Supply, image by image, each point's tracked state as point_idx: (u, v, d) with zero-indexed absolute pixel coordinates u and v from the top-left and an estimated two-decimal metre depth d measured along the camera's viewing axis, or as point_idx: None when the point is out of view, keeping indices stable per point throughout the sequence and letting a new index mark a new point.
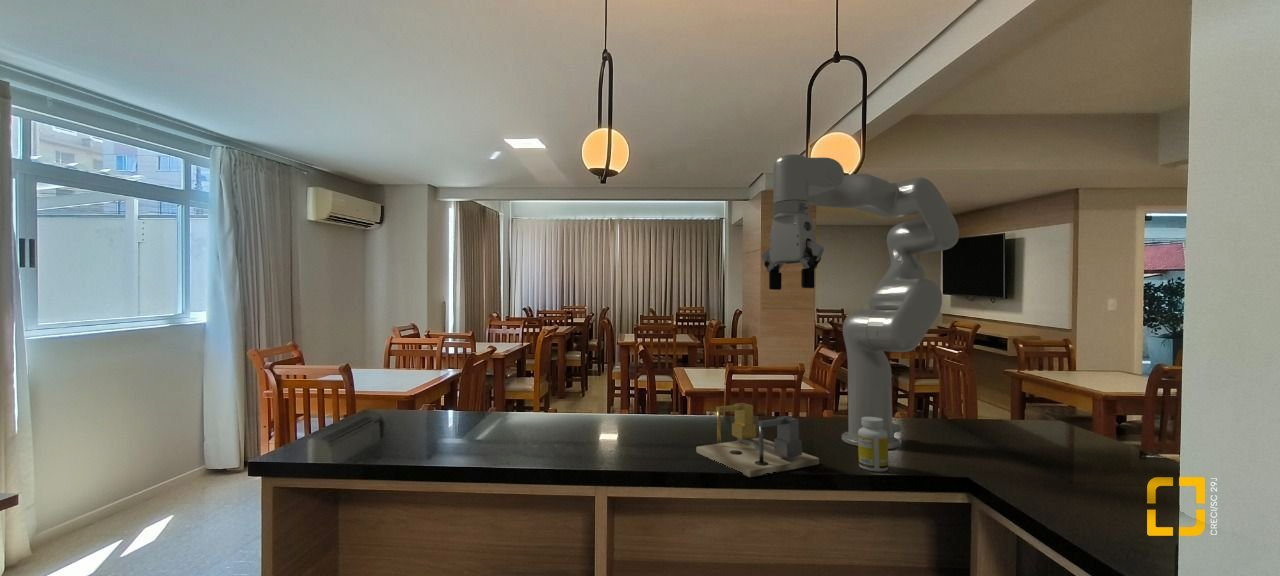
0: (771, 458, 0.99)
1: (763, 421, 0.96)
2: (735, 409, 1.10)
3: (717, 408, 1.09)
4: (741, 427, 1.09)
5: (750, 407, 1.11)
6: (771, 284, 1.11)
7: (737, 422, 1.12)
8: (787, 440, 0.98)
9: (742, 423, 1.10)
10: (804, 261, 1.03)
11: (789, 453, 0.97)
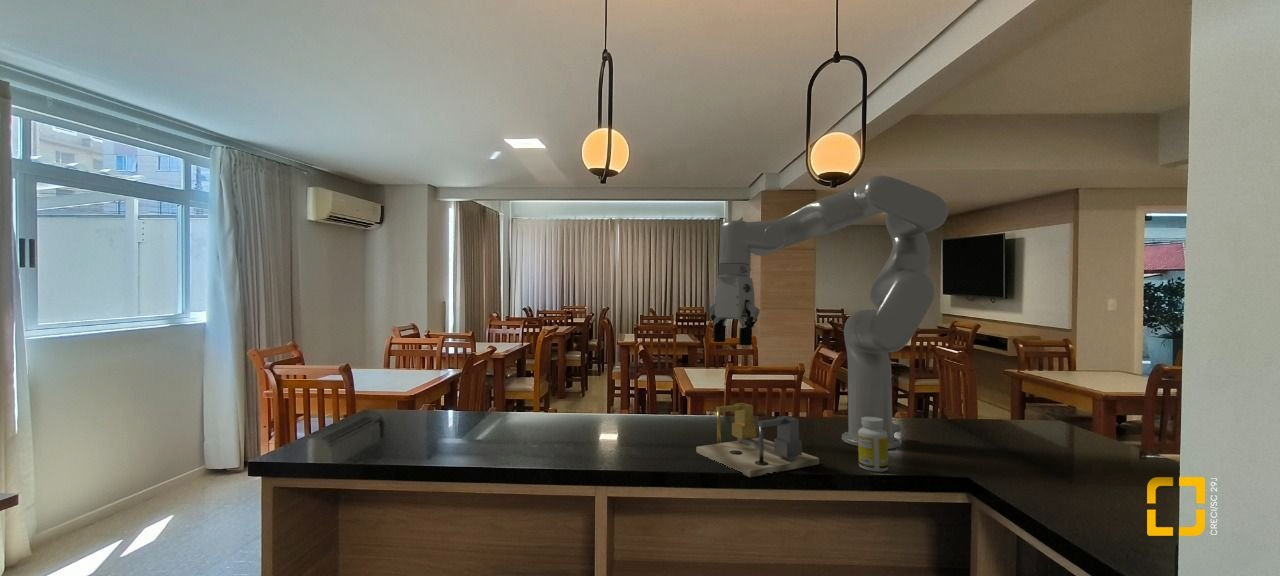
0: (771, 458, 0.99)
1: (763, 421, 0.96)
2: (735, 409, 1.10)
3: (717, 408, 1.09)
4: (741, 427, 1.09)
5: (750, 407, 1.11)
6: (715, 337, 1.20)
7: (737, 422, 1.12)
8: (787, 440, 0.98)
9: (742, 423, 1.10)
10: (742, 321, 1.12)
11: (789, 453, 0.97)
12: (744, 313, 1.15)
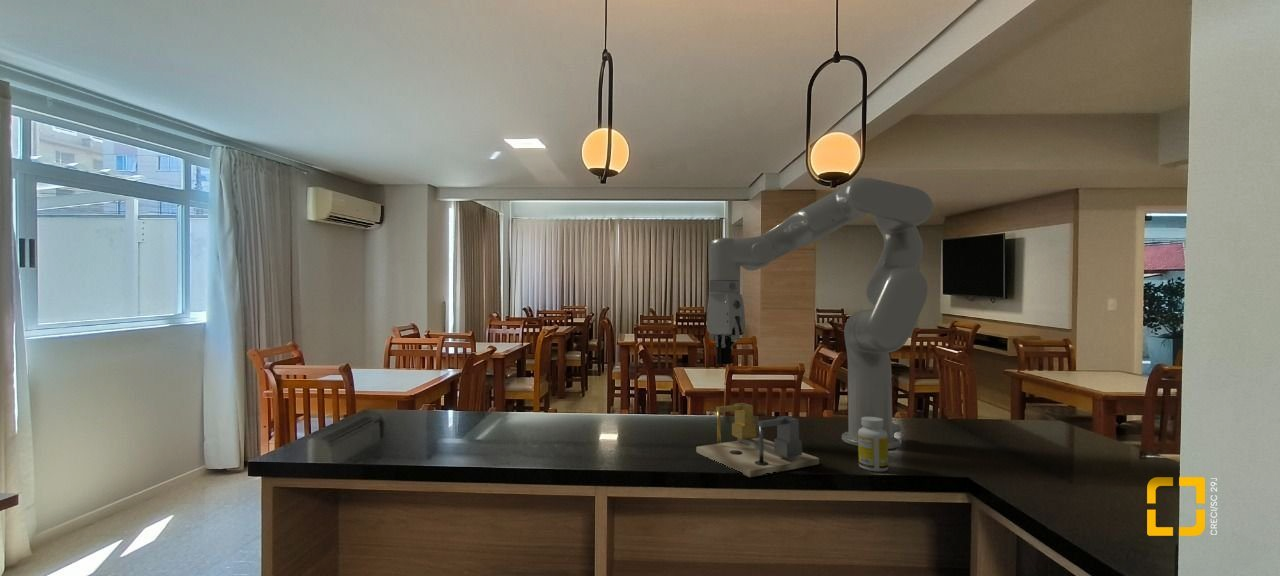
0: (771, 458, 0.99)
1: (763, 421, 0.96)
2: (735, 409, 1.10)
3: (717, 408, 1.09)
4: (741, 427, 1.09)
5: (750, 407, 1.11)
6: (718, 359, 1.18)
7: (737, 422, 1.12)
8: (787, 440, 0.98)
9: (742, 423, 1.10)
10: (723, 341, 1.17)
11: (789, 453, 0.97)
12: None
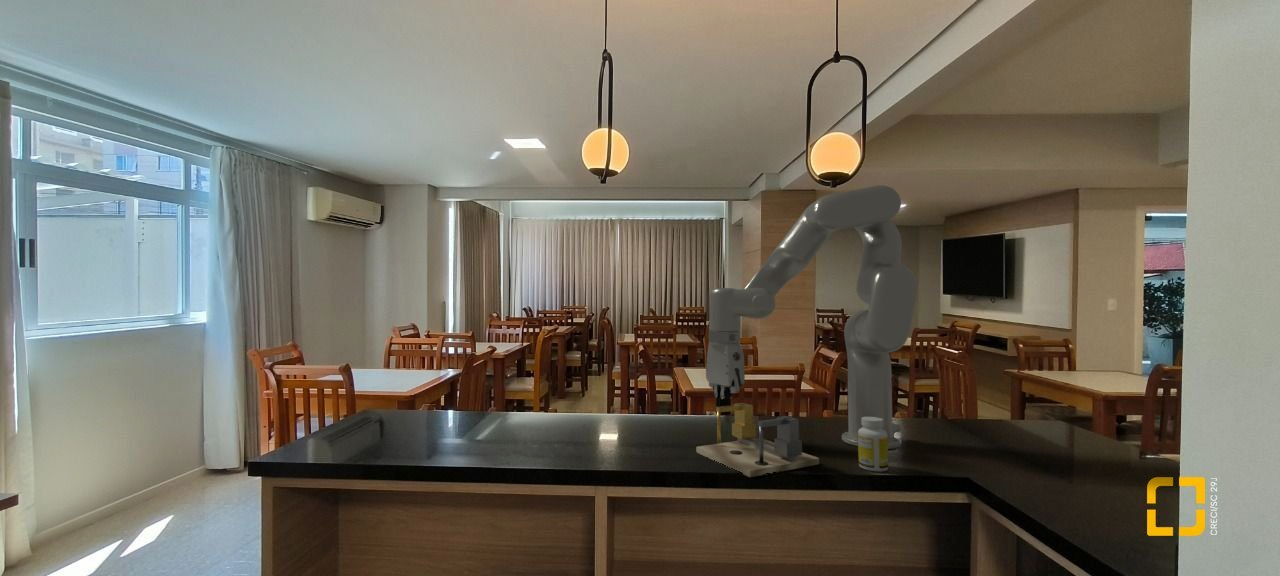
0: (771, 458, 0.99)
1: (763, 421, 0.96)
2: (735, 409, 1.10)
3: (717, 408, 1.09)
4: (741, 427, 1.09)
5: (750, 407, 1.11)
6: None
7: (737, 422, 1.12)
8: (787, 440, 0.98)
9: (742, 423, 1.10)
10: (723, 393, 1.16)
11: (789, 453, 0.97)
12: None
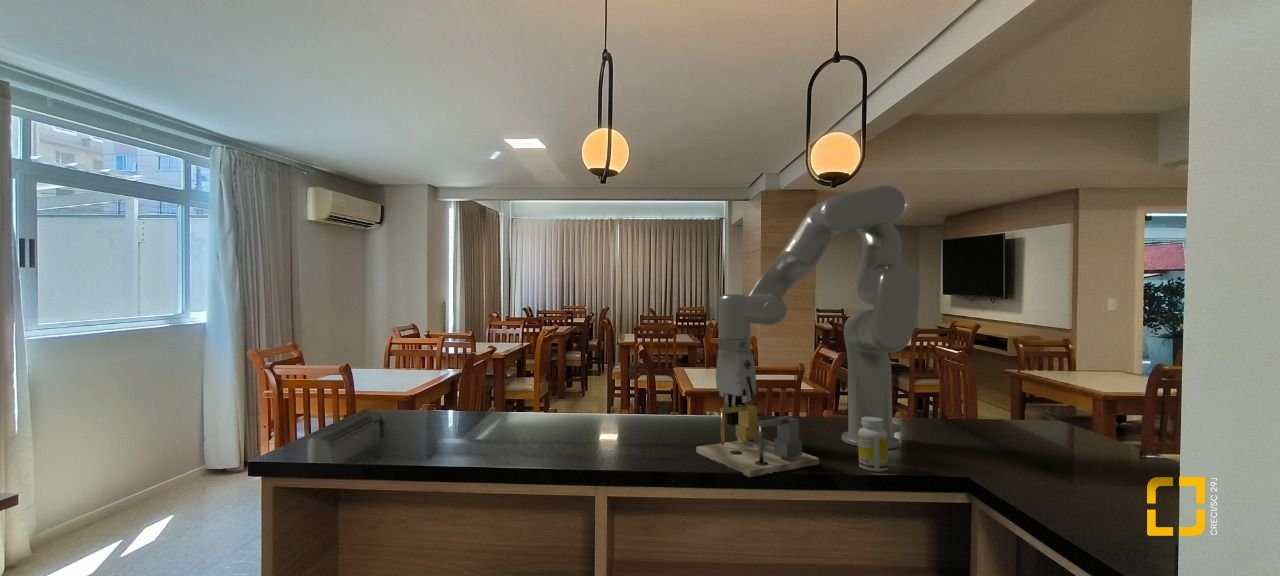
0: (771, 458, 0.99)
1: (763, 421, 0.96)
2: (739, 410, 1.09)
3: (721, 409, 1.08)
4: (745, 428, 1.08)
5: (754, 408, 1.09)
6: (729, 419, 1.14)
7: (741, 423, 1.11)
8: (787, 440, 0.98)
9: (746, 424, 1.09)
10: (734, 402, 1.13)
11: (789, 453, 0.97)
12: None
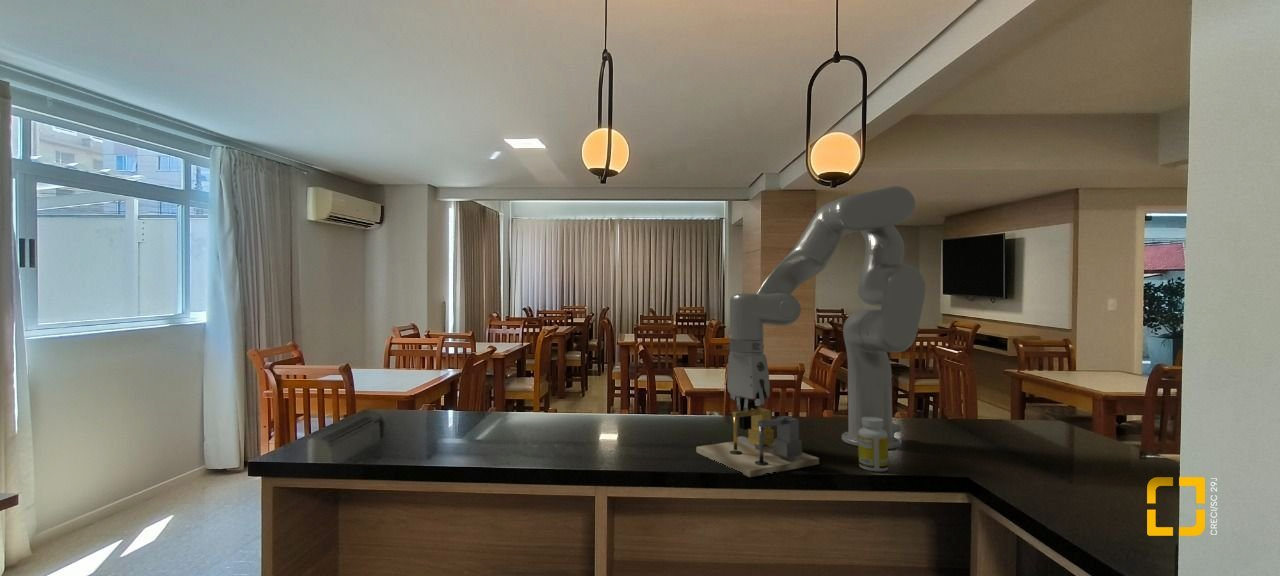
0: (771, 458, 0.99)
1: (763, 421, 0.96)
2: (752, 414, 1.05)
3: (733, 413, 1.04)
4: None
5: (768, 412, 1.05)
6: (741, 423, 1.10)
7: (754, 427, 1.07)
8: (787, 440, 0.98)
9: None
10: (746, 405, 1.09)
11: (789, 453, 0.97)
12: None
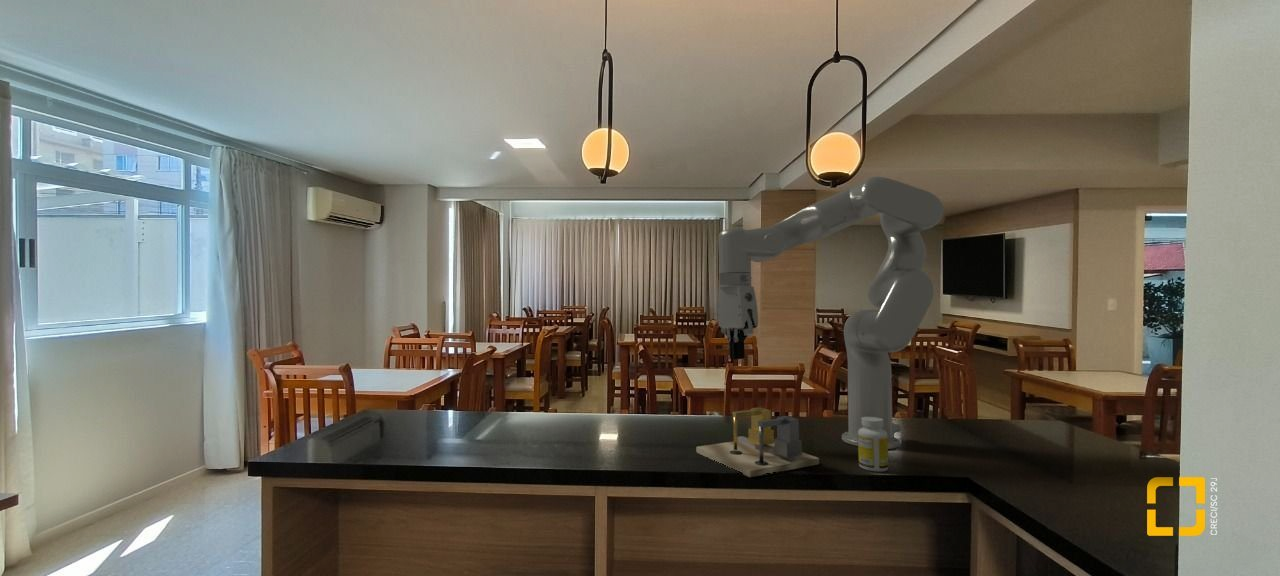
0: (771, 458, 0.99)
1: (763, 421, 0.96)
2: (752, 414, 1.05)
3: (733, 413, 1.04)
4: None
5: (768, 412, 1.05)
6: (731, 354, 1.15)
7: (755, 427, 1.07)
8: (787, 440, 0.98)
9: None
10: (736, 336, 1.13)
11: (789, 453, 0.97)
12: None
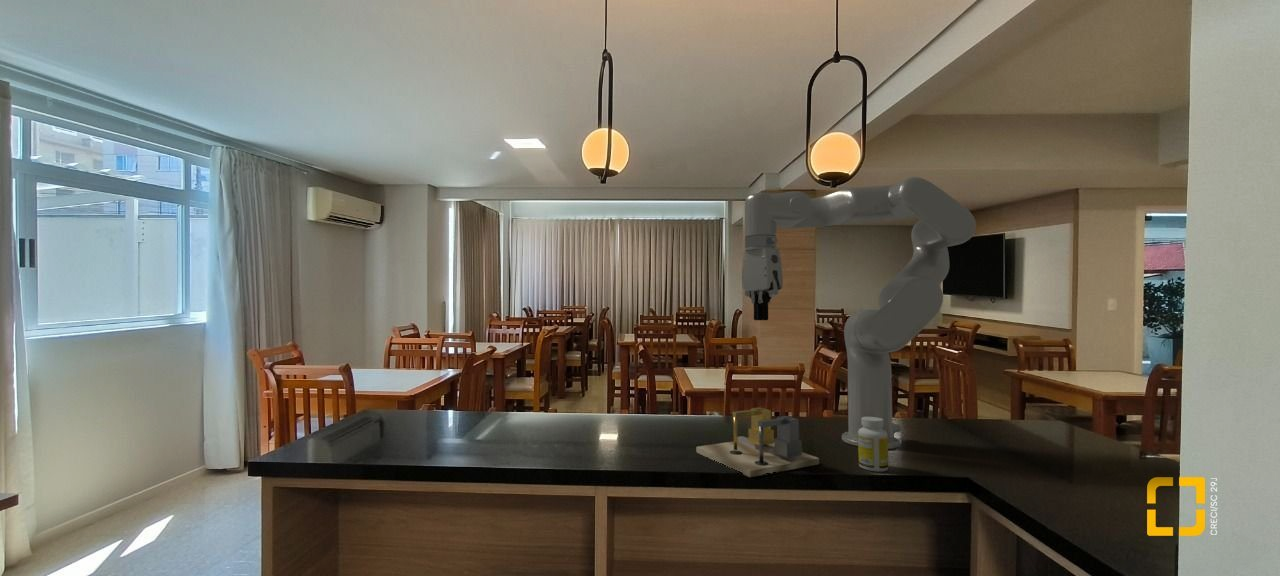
0: (771, 458, 0.99)
1: (763, 421, 0.96)
2: (752, 414, 1.05)
3: (733, 413, 1.04)
4: None
5: (768, 412, 1.05)
6: (755, 315, 1.17)
7: (755, 427, 1.07)
8: (787, 440, 0.98)
9: None
10: (761, 297, 1.16)
11: (789, 453, 0.97)
12: None
